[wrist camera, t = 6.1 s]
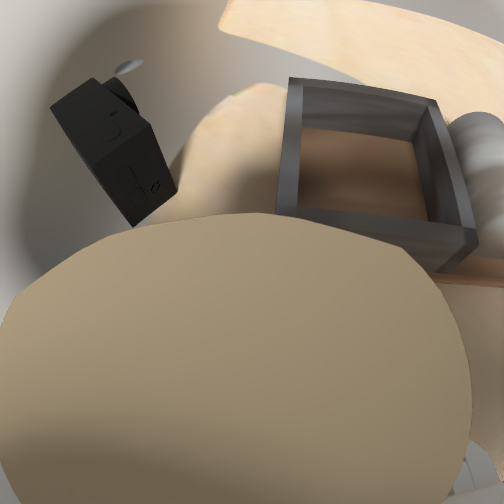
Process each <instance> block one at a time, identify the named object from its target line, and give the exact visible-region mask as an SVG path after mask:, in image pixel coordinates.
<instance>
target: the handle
mask: <svg viewBox="0 0 504 504" xmlns="http://www.w3.org/2000/svg"><path fill="white" fill-rule="evenodd" d="M472 406H473V403H472V390H471V379H470V369H469V363H468V359H467V355H466V352H465V348H464V344H463V341H462V337H461V334H460V331H459V327H458V325H457V323H456V320H455V318H454V316H453V314H452V312H451V310H450V308H449V306H448V304H447V302H446V300H445V298H444V296H443V294H442V292H441V291H440V290H439V288H438V287H437V286H436V284H435V283H434V282H433V281H432V279H431V278H430V277H429V276H428V274H427V273H426V272H425V271H424V269H423V268H422V267H421V266H420V265H419V264H418V263H417V262H416V261H415V260H414V259H413V258H412V257H411V256H410V255H409V254H408V253H406V252H405V251H404V250H403V249H402V248H401V247H398V246H395V245H391V244H388V243H385V242H382V241H379V240H375V239H372V238H369V237H365V236H362V235H359V234H355V233H352V232H349V231H345V230H342V229H338V228H334V227H331V226H327V225H323V224H319V223H315V222H311V221H307V220H303V219H299V218H294V217H287V216H280V215H273V214H266V213H238V214H219V215H212V216H205V217H199V218H192V219H185V220H179V221H172V222H166V223H160V224H154V225H147V226H142V227H139V228H135V229H131V230H128V231H124V232H120V233H117V234H113V235H110V236H108V237H106V238H104V239H102V240H100V241H98V242H96V243H94V244H92V245H90V246H88V247H86V248H84V249H82V250H80V251H79V252H77V253H76V254H74V255H72V256H71V257H69V258H68V259H66V260H65V261H63V262H62V263H60V264H59V265H57V266H56V267H54V268H53V269H51V270H50V271H49V272H47V273H46V274H44V275H43V276H42V277H40V278H39V279H38V280H37V281H35V282H34V283H32V284H31V285H30V286H29V287H27V288H26V289H24V290H23V291H22V292H21V293H19V294H18V295H17V296H15V298H14V299H13V301H12V303H11V305H10V307H9V309H8V311H7V313H6V315H5V317H4V319H3V322H2V324H1V327H0V463H1V466H2V468H3V471H4V473H5V475H6V477H7V479H8V481H9V484H10V486H11V488H12V490H13V491H14V493H15V495H16V496H17V498H18V500H19V501H20V503H21V504H442V503H443V502H444V501H445V500H446V498H447V496H448V494H449V492H450V490H451V488H452V486H453V484H454V482H455V480H456V478H457V476H458V474H459V471H460V468H461V466H462V463H463V460H464V457H465V453H466V450H467V447H468V444H469V438H470V429H471V419H472Z"/></svg>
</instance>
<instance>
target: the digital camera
mask: <svg viewBox="0 0 504 504" xmlns="http://www.w3.org/2000/svg"><path fill="white" fill-rule="evenodd" d="M50 109H51V111H52V113H53V114H54V116H55V118H56V119H57V121H58V122H59V124H60V126H61V127H62V129H63V130H64V132H65V134H66V135H67V136H68V138H69V140H70V141H71V143H72V144H73V146H74V147H75V149H76V151H77V152H78V153H79V155H80V157H81V158H82V160H83V161H84V162H85V164H86V165H87V167H88V168H89V170H90V171H91V172H92V174H93V175H94V177H95V178H96V179H97V181H98V182H99V183H100V185H101V186H102V188H103V189H104V190H105V192H106V193H107V194H108V196H109V197H110V199H111V200H112V201H113V203H114V204H115V205H116V206H117V208H118V209H119V210H120V212H121V213H122V214H123V216H124V217H125V218H126V219H127V221H128V222H129V223H130V225H131V226H132V227H135V226H136V225H137V224H138V223H139V222H140V221H142V220H143V219H144V218H146V217H147V216H148V215H149V214H151V213H152V212H153V211H154V210H156V209H157V208H158V207H159V206H161V205H162V204H163V203H165V202H166V201H167V200H168V199H170V198H171V197H172V196H174V195H175V194H176V193H177V188H176V186H175V184H174V181H173V179H172V176H171V174H170V172H169V169H168V167H167V165H166V162H165V159H164V157H163V154H162V152H161V150H160V147H159V145H158V142H157V140H156V137H155V135H154V132H153V129H152V127H151V124H150V123H148V122H147V121H146V120H145V119H143V118H142V117H141V116H140V115H139V111H138V108H137V106H136V104H135V102H134V100H133V98H132V97H131V95H130V93H129V92H128V90H127V89H126V87H125V86H124V85H123V84H122V82H121V81H120V80H118V79H117V78H116V77H113V78H111V79H110V80H108V81H106V82H105V83H103V84H100V83H99V82H98V81H97V80H95V79H94V78H91V79H89V80H88V81H86V82H85V83H83V84H82V85H80V86H79V87H77V88H76V89H75V90H73V91H72V92H70V93H69V94H67V95H66V96H64V97H63V98H62V99H60V100H59V101H57V102H56V103H55V104H53V105H52V106H51V107H50Z"/></svg>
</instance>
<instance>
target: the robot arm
mask: <svg viewBox="0 0 504 504" xmlns="http://www.w3.org/2000/svg"><path fill="white" fill-rule="evenodd" d="M0 504H21V503H20V501H19V500H18V498H17V496H16V495H15V493H14V491H13V490H12V488H11V486H10V484H9V481H8V479H7V477H6V475H5V473H4V471H3V468H2V466H1V463H0ZM442 504H504V481H502V482H500V480H499V477H498V474H497V472H496V469H495V466H494V464H493V461H492V459H491V456H490V454H489V452H487V451H486V450H485V449H483V448H482V447H481V446H479V445H478V444H477V443H475V442H474V441H473V440H471V439H470V438H469V444H468V447H467V450H466V453H465V457H464V460H463V463H462V466H461V468H460V471H459V474H458V476H457V478H456V480H455V482H454V484H453V486H452V488H451V490H450V492H449V494H448V496H447V498H446V500H445V501H444V502H443V503H442Z"/></svg>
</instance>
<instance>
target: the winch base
mask: <svg viewBox="0 0 504 504" xmlns="http://www.w3.org/2000/svg"><path fill="white" fill-rule="evenodd" d="M275 215H280V216H287V217H294V218H299V219H303V220H307V221H311V222H315V223H319V224H323V225H327V226H331V227H334V228H338V229H342V230H345V231H349V232H352V233H355V234H359V235H362V236H365V237H369V238H372V239H375V240H379V241H382V242H385V243H388V244H391V245H395V246H398V247H401V248H402V249H403V250H404V251H405V252H406V253H408V254H409V255H410V256H411V257H412V258H413V259H414V260H415V261H416V262H417V263H418V264H419V265H420V266H421V267H422V268H423V269H424V271H425V272H426V273H427V274H428V276H429V277H430V278H431V279H432V281H433V282H438V283H451V284H464V285H478V286H492V287H504V124H503V122H502V121H501V120H500V119H499V118H498V117H496V116H494V115H492V114H490V113H486V112H472V113H468V114H465V115H463V116H461V117H459V118H457V119H456V120H454V121H453V122H452V123H451V124H450V125H449V126H448V127H446V124H445V122H444V119H443V117H442V114H441V112H440V109H439V107H438V105H437V102H436V100H433V99H429V98H425V97H421V96H416V95H412V94H407V93H403V92H398V91H393V90H388V89H382V88H376V87H371V86H364V85H358V84H351V83H343V82H336V81H326V80H317V79H306V78H293V77H289V84H288V94H287V104H286V114H285V124H284V134H283V144H282V153H281V163H280V172H279V181H278V190H277V199H276V208H275Z"/></svg>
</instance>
